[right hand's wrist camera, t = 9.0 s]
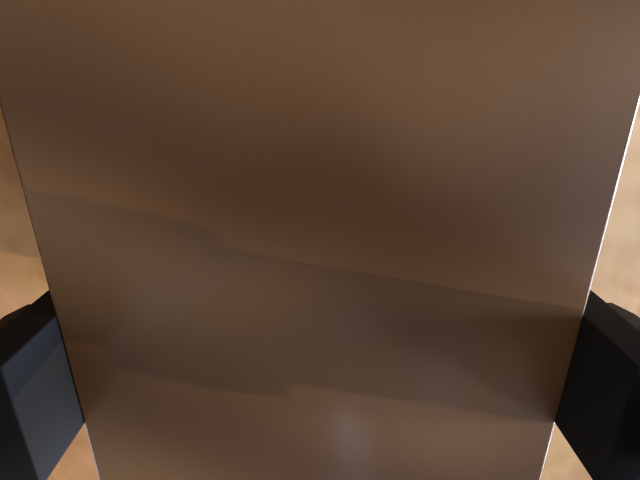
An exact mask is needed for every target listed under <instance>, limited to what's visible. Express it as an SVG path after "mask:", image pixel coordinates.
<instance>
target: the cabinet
mask: <svg viewBox="0 0 640 480" xmlns="http://www.w3.org/2000/svg"><path fill="white" fill-rule="evenodd" d="M639 102H640V0H0V105H1V109H2V113H3V116H4V120H5V124H6V128H7V132H8V135H9V139H10V143H11V147H12V150H13V154H14V158H15V162H16V166H17V169H18V173H19V177H20V181H21V184H22V188H23V192H24V196H25V200H26V203H27V207H28V211H29V215H30V219H31V222H32V226H33V230H34V234H35V237H36V241H37V245H38V249H39V253H40V256H41V260H42V264H43V268H44V271H45V275H46V279H47V283H48V287H49V290H50V294H51V298H52V302H53V306H54V309H55V313H56V317H57V321H58V324H59V328H60V332H61V336H62V340H63V343H64V347H65V351H66V355H67V358H68V362H69V366H70V370H71V374H72V377H73V381H74V385H75V389H76V393H77V396H78V400H79V404H80V408H81V411H82V415H83V419H84V423H85V427H86V430H87V434H88V438H89V442H90V445H91V449H92V453H93V457H94V461H95V464H96V468H97V472H98V476H99V479H100V480H540V478H541V474H542V470H543V466H544V462H545V459H546V455H547V451H548V447H549V444H550V440H551V436H552V432H553V428H554V425H555V421H556V417H557V413H558V409H559V406H560V402H561V398H562V394H563V390H564V387H565V383H566V379H567V375H568V371H569V368H570V364H571V360H572V356H573V352H574V349H575V345H576V341H577V337H578V333H579V330H580V326H581V322H582V318H583V315H584V311H585V307H586V303H587V299H588V296H589V292H590V288H591V284H592V280H593V277H594V273H595V269H596V265H597V261H598V258H599V254H600V250H601V246H602V242H603V239H604V235H605V231H606V227H607V223H608V220H609V216H610V212H611V208H612V205H613V201H614V197H615V193H616V189H617V186H618V182H619V178H620V174H621V170H622V167H623V163H624V159H625V155H626V151H627V148H628V144H629V140H630V136H631V132H632V129H633V125H634V121H635V117H636V113H637V110H638V106H639Z"/></svg>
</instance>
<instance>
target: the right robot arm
mask: <svg viewBox="0 0 640 480" xmlns="http://www.w3.org/2000/svg"><path fill="white" fill-rule="evenodd" d="M555 423H556V425H557V426H558V428H559V429H560V431H561V432H562V434H563V435H564V437H565V438H566V440H567V441H568V443H569V444H570V446H571V447H572V449H573V450H574V452H575V453H576V455H577V456H578V458H579V459H580V461H581V462H582V464H583V465H584V467H585V468H586V470H587V471H588V473H589V474H590V476H591V477H592V479H593V480H640V318H639V317H638V316H636V315H635V314H633V313H631V312H629V311H627V310H625V309H623V308H621V307H619V306H617V305H615V304H613V303H606V302H605V301H603V300H602V299H601V298H600V297H598V296H597V295H596V294H595V293H594V292H592V291H591V290H590V292H589V296H588V299H587V303H586V307H585V311H584V315H583V318H582V322H581V326H580V330H579V333H578V337H577V341H576V345H575V349H574V352H573V356H572V360H571V364H570V368H569V371H568V375H567V379H566V383H565V387H564V390H563V394H562V398H561V402H560V406H559V409H558V413H557V417H556V421H555ZM83 424H84V419H83V415H82V411H81V408H80V404H79V400H78V396H77V393H76V389H75V385H74V381H73V377H72V374H71V370H70V366H69V362H68V358H67V355H66V351H65V347H64V343H63V340H62V336H61V332H60V328H59V324H58V321H57V317H56V313H55V309H54V306H53V302H52V298H51V294H50V290H48V291H47V292H46V293H45V294H43V295H42V296H41V297H40V298H39V299H37V300H36V301H35V302H34V303H32V304H28V305H26V306H24V307H22V308H20V309H18V310H16V311H14V312H12V313H10V314H8V315H6V316H4V317H3V318H2V319H0V480H47V478H48V477H49V475H50V474H51V472H52V471H53V469H54V468H55V466H56V465H57V463H58V462H59V460H60V459H61V457H62V456H63V454H64V453H65V451H66V450H67V448H68V447H69V445H70V444H71V442H72V441H73V439H74V438H75V436H76V435H77V433H78V432H79V430H80V429H81V427H82V426H83Z"/></svg>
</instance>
